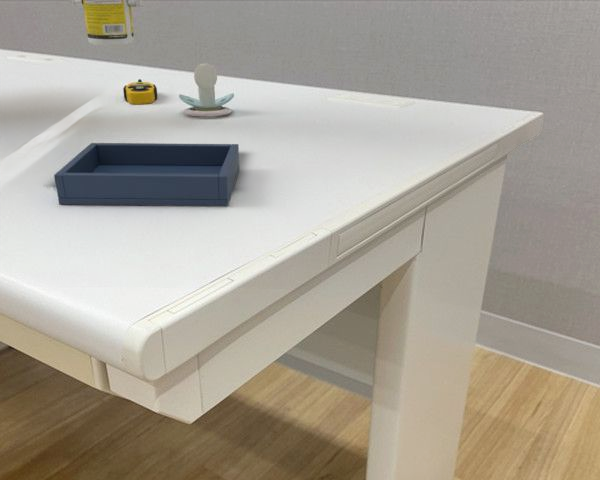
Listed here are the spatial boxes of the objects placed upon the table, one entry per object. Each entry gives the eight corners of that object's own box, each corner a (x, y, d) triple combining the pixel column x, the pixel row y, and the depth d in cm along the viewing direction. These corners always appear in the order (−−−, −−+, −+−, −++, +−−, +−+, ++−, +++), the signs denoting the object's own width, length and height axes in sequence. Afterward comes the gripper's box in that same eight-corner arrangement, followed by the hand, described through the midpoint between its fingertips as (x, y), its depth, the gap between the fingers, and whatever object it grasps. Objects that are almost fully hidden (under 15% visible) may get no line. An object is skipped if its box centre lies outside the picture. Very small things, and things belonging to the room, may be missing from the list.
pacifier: (235, 119, 83) (234, 108, 88) (233, 69, 80) (232, 60, 85) (178, 120, 82) (181, 109, 88) (174, 70, 79) (177, 61, 84)
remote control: (122, 91, 89) (123, 73, 102) (123, 105, 90) (125, 86, 103) (157, 90, 90) (154, 72, 103) (158, 104, 91) (155, 85, 104)
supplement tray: (59, 204, 54) (53, 175, 53) (95, 168, 63) (91, 142, 62) (228, 206, 54) (226, 176, 53) (239, 170, 63) (238, 143, 62)
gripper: (-17, -142, 66) (8, 4, 72) (180, -136, 66) (187, 10, 73) (8, -134, 72) (30, 1, 78) (190, -128, 72) (196, 6, 78)
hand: (107, 5), depth 75 cm, fingers closed on supplement bottle, 5 cm apart
